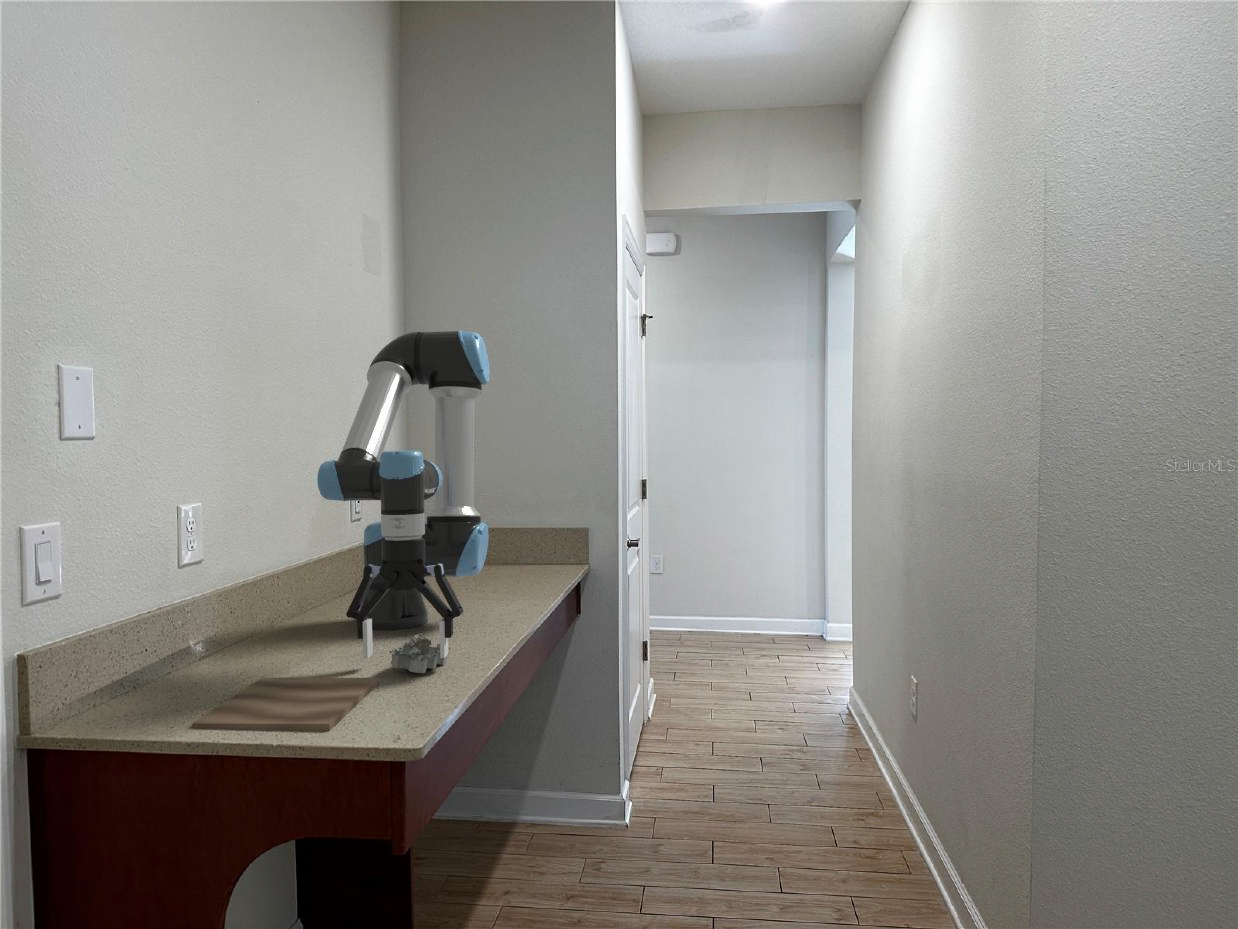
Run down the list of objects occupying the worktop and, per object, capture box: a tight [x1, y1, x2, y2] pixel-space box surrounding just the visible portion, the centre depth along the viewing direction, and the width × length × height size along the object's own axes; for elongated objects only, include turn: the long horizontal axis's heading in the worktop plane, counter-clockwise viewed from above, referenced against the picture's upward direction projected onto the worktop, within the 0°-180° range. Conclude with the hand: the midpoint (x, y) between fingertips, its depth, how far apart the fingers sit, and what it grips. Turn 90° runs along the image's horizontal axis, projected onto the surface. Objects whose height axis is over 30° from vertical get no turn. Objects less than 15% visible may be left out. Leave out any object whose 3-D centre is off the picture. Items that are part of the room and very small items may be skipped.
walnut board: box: [191, 677, 380, 732], centre depth 133 cm, size 22×20×1 cm
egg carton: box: [388, 633, 451, 674], centre depth 152 cm, size 11×8×4 cm
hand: (406, 656), depth 151 cm, fingers open, 13 cm apart
